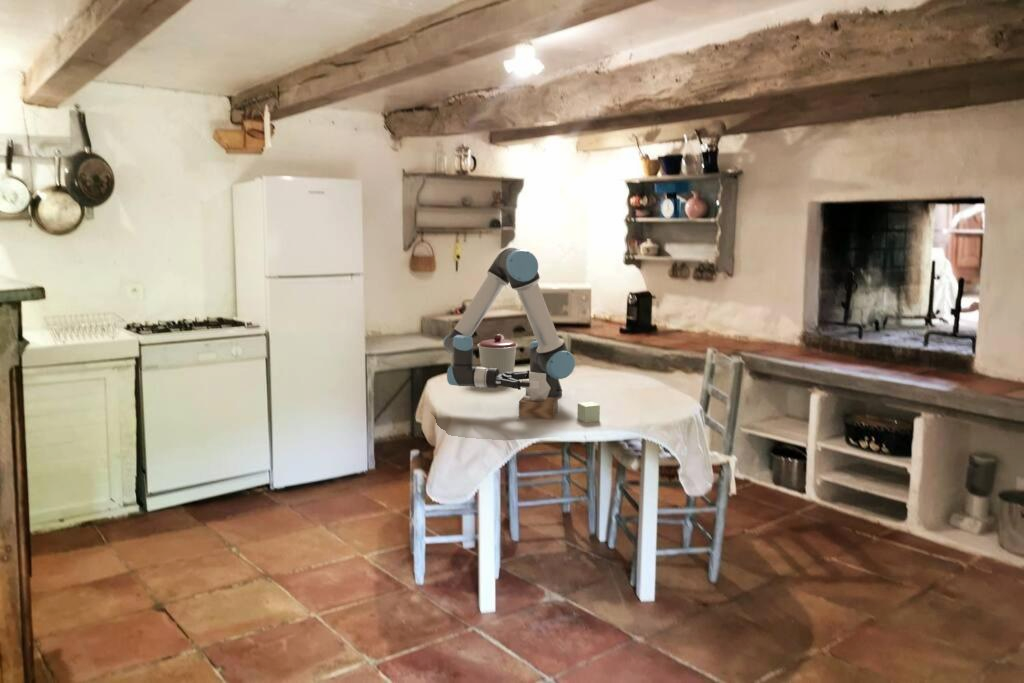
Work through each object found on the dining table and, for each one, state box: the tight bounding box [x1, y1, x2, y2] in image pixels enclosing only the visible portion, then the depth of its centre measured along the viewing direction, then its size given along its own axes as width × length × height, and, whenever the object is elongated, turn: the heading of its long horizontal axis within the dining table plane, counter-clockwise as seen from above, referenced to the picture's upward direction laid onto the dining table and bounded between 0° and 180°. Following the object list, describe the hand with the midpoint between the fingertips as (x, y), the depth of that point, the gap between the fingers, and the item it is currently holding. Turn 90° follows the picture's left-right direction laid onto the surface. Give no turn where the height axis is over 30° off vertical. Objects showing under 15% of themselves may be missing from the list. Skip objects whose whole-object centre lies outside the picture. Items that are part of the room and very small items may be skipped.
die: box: [525, 378, 551, 401], centre depth 298 cm, size 8×9×10 cm
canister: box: [477, 334, 519, 374], centre depth 356 cm, size 18×18×21 cm
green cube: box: [576, 401, 601, 423], centre depth 293 cm, size 6×6×6 cm
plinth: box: [518, 395, 559, 420], centre depth 299 cm, size 13×9×6 cm
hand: (542, 380), depth 297 cm, fingers open, 13 cm apart
